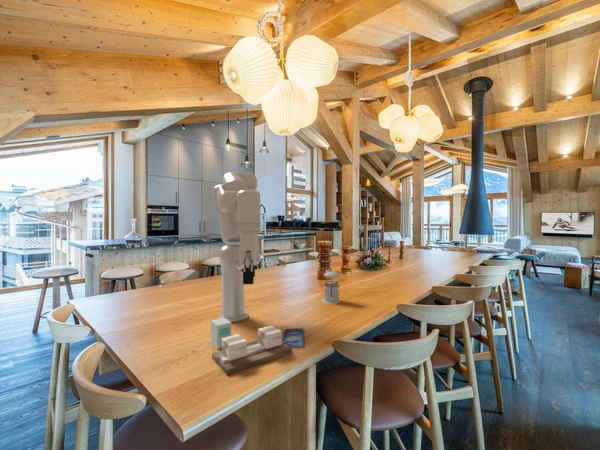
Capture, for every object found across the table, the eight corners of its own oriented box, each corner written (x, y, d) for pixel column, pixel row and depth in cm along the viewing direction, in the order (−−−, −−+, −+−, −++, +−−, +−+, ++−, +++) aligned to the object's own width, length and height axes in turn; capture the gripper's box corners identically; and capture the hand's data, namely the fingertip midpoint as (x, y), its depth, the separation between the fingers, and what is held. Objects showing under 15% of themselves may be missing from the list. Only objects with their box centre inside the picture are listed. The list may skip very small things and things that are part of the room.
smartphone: (282, 346, 99) (284, 329, 114) (282, 349, 99) (284, 331, 114) (303, 345, 99) (303, 328, 114) (304, 348, 99) (303, 330, 114)
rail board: (212, 358, 92) (211, 336, 92) (272, 340, 105) (272, 321, 105) (226, 375, 82) (226, 351, 82) (291, 353, 95) (291, 332, 95)
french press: (340, 298, 156) (340, 251, 155) (341, 305, 145) (341, 254, 144) (322, 297, 157) (322, 251, 156) (321, 304, 146) (321, 254, 145)
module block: (211, 342, 103) (210, 320, 103) (224, 339, 106) (224, 317, 106) (217, 349, 98) (217, 325, 98) (231, 345, 101) (231, 322, 101)
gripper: (239, 227, 104) (240, 274, 105) (234, 230, 87) (234, 287, 88) (261, 226, 105) (261, 274, 106) (259, 230, 88) (260, 286, 89)
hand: (249, 280), depth 97 cm, fingers open, 9 cm apart
